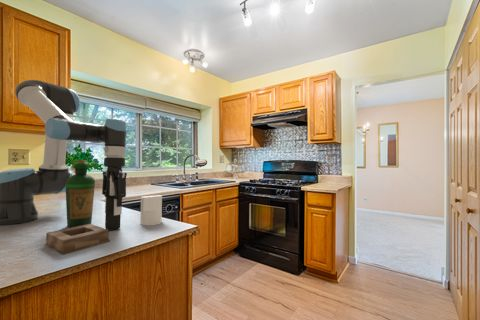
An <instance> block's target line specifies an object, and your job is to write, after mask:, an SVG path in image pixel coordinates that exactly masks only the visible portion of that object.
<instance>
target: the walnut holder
mask: <svg viewBox="0 0 480 320" xmlns="http://www.w3.org/2000/svg"><path fill="white" fill-rule="evenodd" d="M109 231H110V230H108V229H106V228H105V227H101V226H99V225H95V224H92V223H91V224H87V225H82V226H77V227H68V228H62V229H58V230H54V231H48V232H46V238H45V239H46V240H45V241H46V243H44V246H45V247H48V248H49V249H51V250H53V251H55V252H56V253H59V254H61V255H67V254H71V253H73V252H77V251H81V250H84V249H87V248H91V247H94V246H99V245H103V244H105V243H108V242H110V239H109Z"/></svg>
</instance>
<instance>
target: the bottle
mask: <svg viewBox="0 0 480 320" xmlns="http://www.w3.org/2000/svg"><path fill="white" fill-rule="evenodd" d="M86 161H87V160H86V159H77V160H76V162H74V166H73V169H74V173H75V174H73V175H72V176H71V177H69V178H68V179H67V181H66V182H65V186H66V192H65V202H66V203H65V208H66V224H67V225H66V226H67V227H68V228H72V227H77V226H82V225H87V224H92V220H93V219H92V218H93V210H94V209H93V207H94V199H95V198H94V197H95V186H96V180H95V179H94V177H93V176H91V175H90V174H87V173H88V172H87V171H88V169H89V163H88V162H86Z"/></svg>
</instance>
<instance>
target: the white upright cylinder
mask: <svg viewBox="0 0 480 320" xmlns="http://www.w3.org/2000/svg"><path fill="white" fill-rule="evenodd" d="M162 206H163V195H161V194H158V195H145V196H141V197H140V220H139V221H140V223H139V224H140V225H142V226H156V225H159V224H161V223H162V218H163V217H162V216H163V215H162V214H163V212H162V211H163V208H162Z"/></svg>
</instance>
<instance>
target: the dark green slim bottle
mask: <svg viewBox="0 0 480 320" xmlns="http://www.w3.org/2000/svg"><path fill="white" fill-rule="evenodd" d="M115 197H116V196H115V189H114V183H113V182H112V176H111V175H110V195H107V196H106V213H105V214H104V215H105V217H104V218H105V222H104V229H108V230H109V231H111V230H118V229H120V228H121V215H122V213H121V214H120V215H114V198H115Z"/></svg>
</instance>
